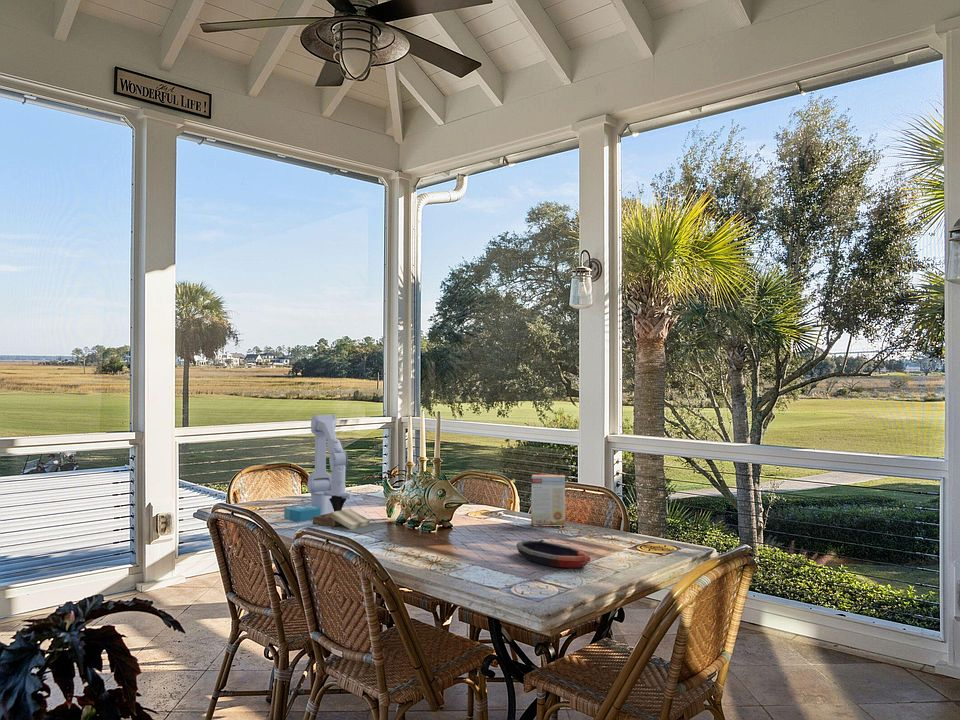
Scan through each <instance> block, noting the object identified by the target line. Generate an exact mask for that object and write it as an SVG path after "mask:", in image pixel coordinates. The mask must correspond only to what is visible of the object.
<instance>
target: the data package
mask: <svg viewBox="0 0 960 720" xmlns="http://www.w3.org/2000/svg"><path fill="white" fill-rule="evenodd" d="M318 515H321V508H320V507H316V506H312V505H311V504H301V505H300V504H299V505H293V506H285V507H283V518H284V519H285V520H289V521H292V522H295V523H296V522H297V523H300V522H302V523H303V522H309V521H313V517H314V516H318Z"/></svg>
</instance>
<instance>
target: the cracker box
mask: <svg viewBox="0 0 960 720" xmlns="http://www.w3.org/2000/svg"><path fill="white" fill-rule="evenodd" d="M530 493H531V498H530V499H531V501H530V502H531V503H530V505H531V506H530V512H531V513H530V525H565V526H566V512H565V511H566V475H565V474H531V492H530Z"/></svg>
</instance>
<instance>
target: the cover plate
mask: <svg viewBox="0 0 960 720" xmlns="http://www.w3.org/2000/svg"><path fill="white" fill-rule="evenodd" d="M330 518H332V519H333V520H335V521H337V522H339V523H340V524H342V525H344V526H345V527H347V528H349V529H355V528H359V527H363V526H367V525H369V524H371V520H370V519H369V518H366V517H365V516H363V515H361V514H360V513H358V512H356V511H354V510H352V509H351V508H346V509H345V508H344V509H342V510H340V511H336V512H334V511H333V512H331V513H330Z"/></svg>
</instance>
